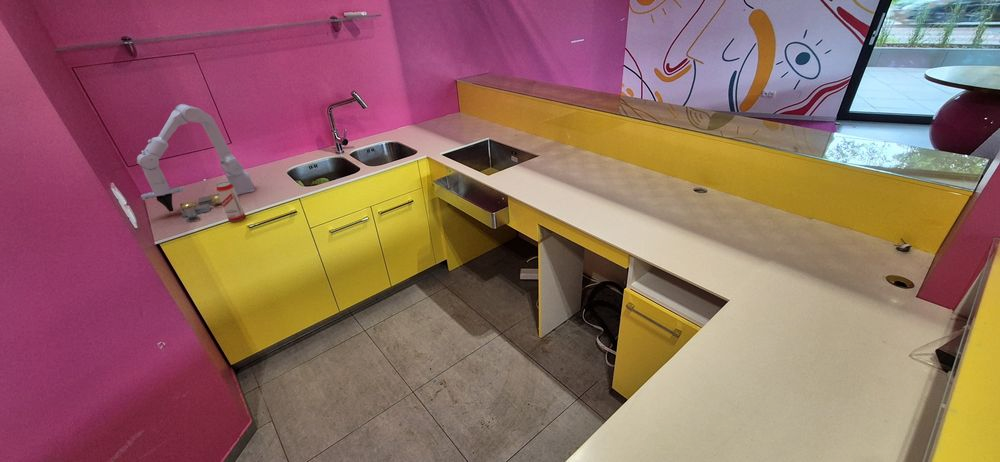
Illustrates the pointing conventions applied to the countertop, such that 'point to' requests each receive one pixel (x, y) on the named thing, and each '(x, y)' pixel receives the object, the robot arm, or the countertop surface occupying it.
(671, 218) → the countertop surface
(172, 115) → the robot arm
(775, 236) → the countertop surface
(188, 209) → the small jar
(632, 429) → the countertop surface
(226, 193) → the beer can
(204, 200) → the fixed leaf
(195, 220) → the pad
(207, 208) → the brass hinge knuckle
